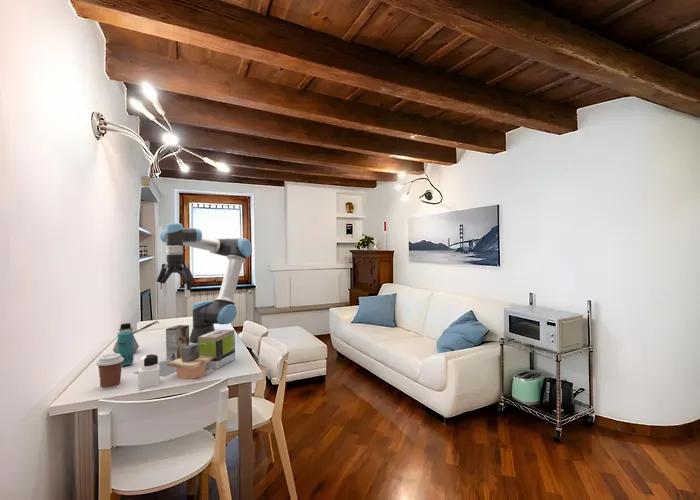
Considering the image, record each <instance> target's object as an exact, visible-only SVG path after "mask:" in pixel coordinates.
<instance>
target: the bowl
mask: <svg viewBox="0 0 700 500" xmlns="http://www.w3.org/2000/svg"><path fill="white" fill-rule="evenodd" d="M206 368H207V367H206V363H204V364H202V365H200V366H198V367H196V368H194V369H191V368H181V367H177V371H176V378H177V379H183V380H189V379H192V380H196V379H199V378H201V377H203V376H205V375H206V373H207V371H206Z"/></svg>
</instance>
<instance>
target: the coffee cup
mask: <svg viewBox="0 0 700 500" xmlns="http://www.w3.org/2000/svg"><path fill="white" fill-rule="evenodd" d="M123 361H124V358H123V357H122V356H121V354H118V353H115V352H114V353H108V354H104V355H102V356H101V355H100V357H99V359H98V360H97V361H96V364H95V365H96V366H98V375H99V384H100V389H101V388H102V389H101V390H109V389H108V388H111V389H114V387H115V388H116V387H117V386H119V385H120V384H121V376H122V368H123V365H122V362H123ZM117 388H118V387H117Z"/></svg>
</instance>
